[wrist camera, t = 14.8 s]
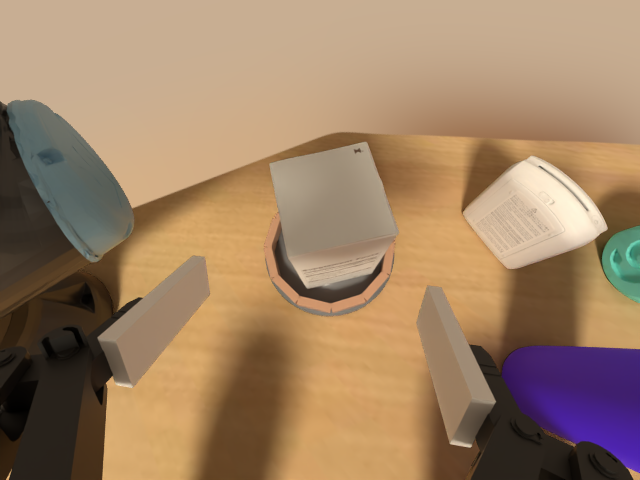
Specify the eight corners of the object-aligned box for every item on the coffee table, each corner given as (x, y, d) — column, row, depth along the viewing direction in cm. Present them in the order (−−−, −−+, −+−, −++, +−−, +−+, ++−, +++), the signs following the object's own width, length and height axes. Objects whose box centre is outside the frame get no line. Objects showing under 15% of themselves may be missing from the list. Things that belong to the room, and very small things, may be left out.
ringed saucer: (250, 298, 35) (243, 295, 32) (286, 185, 40) (283, 175, 37) (381, 331, 32) (386, 330, 30) (401, 207, 38) (406, 198, 35)
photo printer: (534, 259, 35) (636, 221, 23) (508, 276, 34) (599, 245, 22) (480, 198, 38) (545, 137, 26) (455, 212, 37) (511, 157, 26)
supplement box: (291, 226, 37) (266, 158, 23) (355, 212, 37) (368, 136, 23) (305, 291, 34) (284, 259, 20) (374, 275, 34) (402, 232, 20)
